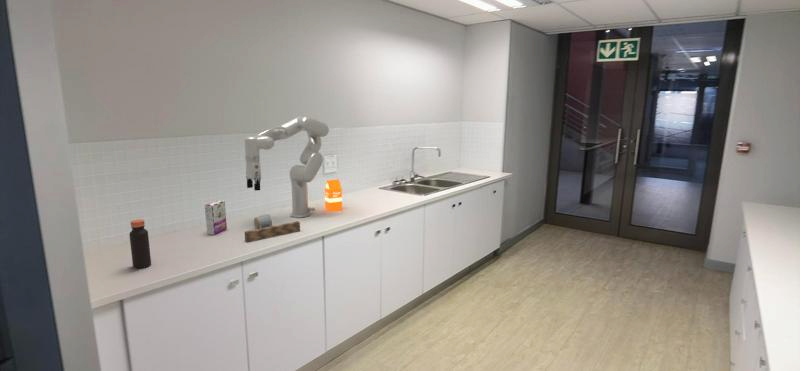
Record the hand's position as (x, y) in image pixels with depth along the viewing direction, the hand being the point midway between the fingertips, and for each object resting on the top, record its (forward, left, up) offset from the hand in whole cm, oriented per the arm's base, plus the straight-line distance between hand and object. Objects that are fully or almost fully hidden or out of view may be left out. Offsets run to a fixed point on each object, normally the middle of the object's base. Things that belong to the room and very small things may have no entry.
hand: (253, 188), depth 245 cm
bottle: (+64, +29, -21) cm, 73 cm away
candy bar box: (+22, 0, -21) cm, 30 cm away
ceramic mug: (0, +11, -21) cm, 24 cm away
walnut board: (+2, +26, -21) cm, 34 cm away
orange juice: (-54, -1, -21) cm, 58 cm away
